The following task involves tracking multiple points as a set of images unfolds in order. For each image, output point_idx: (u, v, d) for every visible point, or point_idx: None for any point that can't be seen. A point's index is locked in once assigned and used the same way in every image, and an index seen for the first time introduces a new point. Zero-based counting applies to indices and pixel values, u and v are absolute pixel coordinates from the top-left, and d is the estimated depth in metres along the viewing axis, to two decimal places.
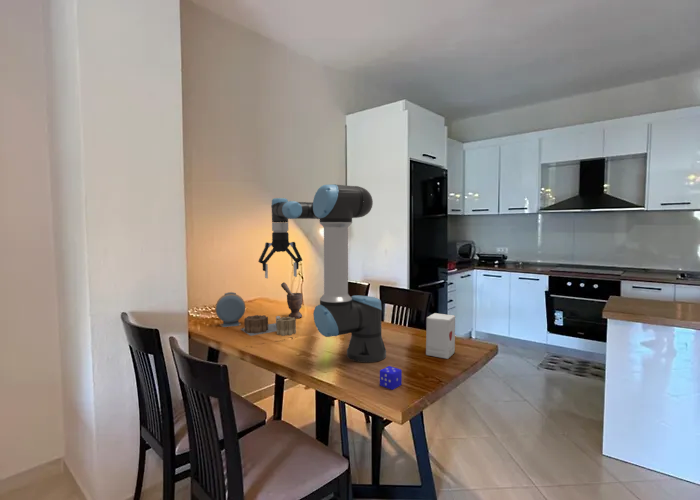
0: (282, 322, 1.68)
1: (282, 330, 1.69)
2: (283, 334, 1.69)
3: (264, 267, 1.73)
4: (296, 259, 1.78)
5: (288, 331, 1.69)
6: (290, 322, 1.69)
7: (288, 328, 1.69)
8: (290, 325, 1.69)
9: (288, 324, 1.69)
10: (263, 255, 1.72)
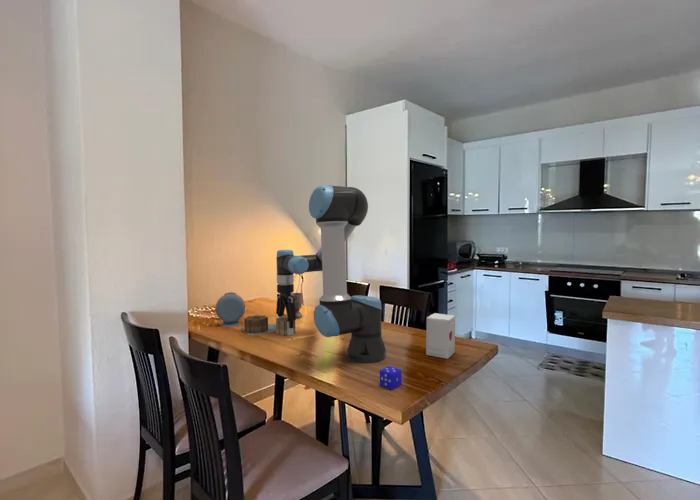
0: (282, 322, 1.69)
1: (281, 329, 1.69)
2: (283, 334, 1.69)
3: None
4: (288, 317, 1.68)
5: None
6: None
7: None
8: None
9: None
10: (277, 306, 1.78)
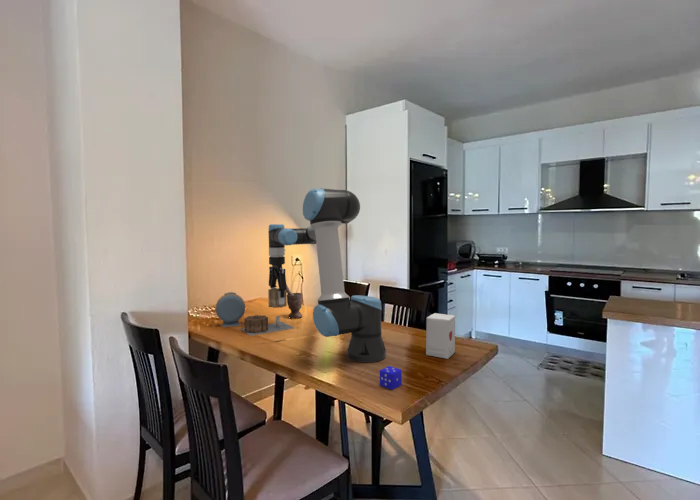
0: (273, 292, 1.79)
1: (273, 299, 1.79)
2: (274, 303, 1.79)
3: None
4: (279, 287, 1.78)
5: None
6: None
7: None
8: None
9: None
10: (269, 278, 1.88)
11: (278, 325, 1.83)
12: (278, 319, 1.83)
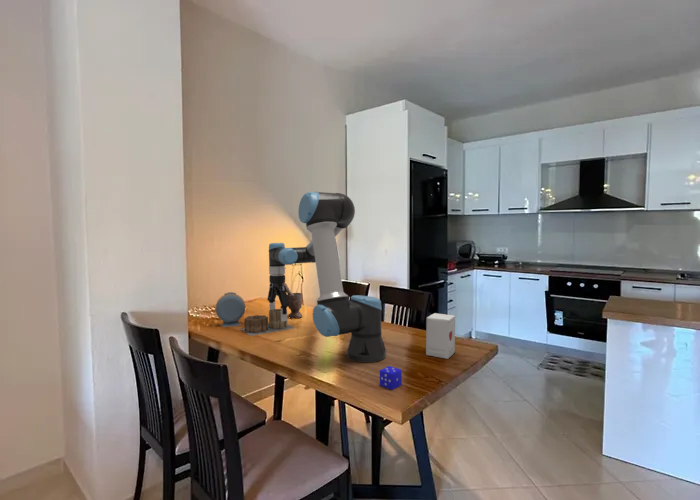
0: (274, 313, 1.79)
1: (274, 320, 1.80)
2: (275, 324, 1.80)
3: (270, 305, 1.90)
4: (281, 304, 1.77)
5: (280, 322, 1.80)
6: None
7: (280, 319, 1.80)
8: None
9: (280, 315, 1.80)
10: (268, 294, 1.89)
11: None
12: None
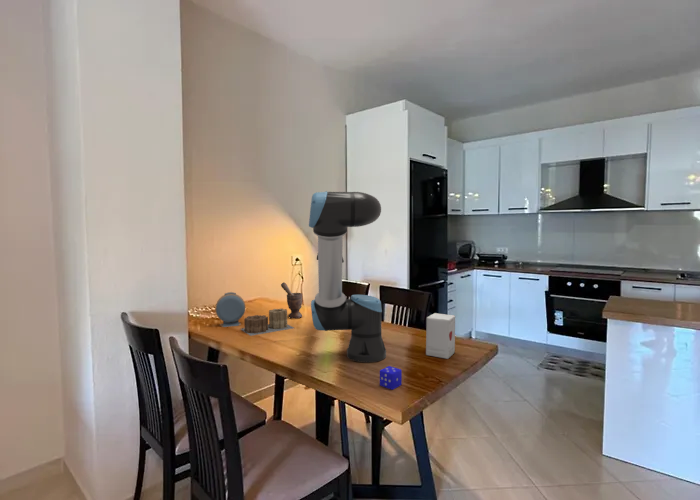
0: (274, 313, 1.79)
1: (274, 320, 1.80)
2: (275, 324, 1.80)
3: None
4: None
5: (280, 322, 1.80)
6: (282, 313, 1.80)
7: (280, 319, 1.80)
8: (282, 316, 1.80)
9: (280, 315, 1.80)
10: None
11: None
12: None
